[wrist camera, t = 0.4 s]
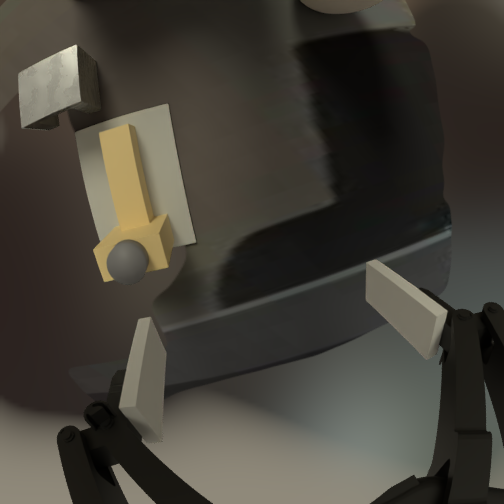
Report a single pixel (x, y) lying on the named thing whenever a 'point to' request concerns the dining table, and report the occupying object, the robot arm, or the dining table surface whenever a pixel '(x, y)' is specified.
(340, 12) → the vase
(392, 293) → the robot arm
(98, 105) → the grey slotted block
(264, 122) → the dining table surface
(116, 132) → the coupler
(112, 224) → the mat
